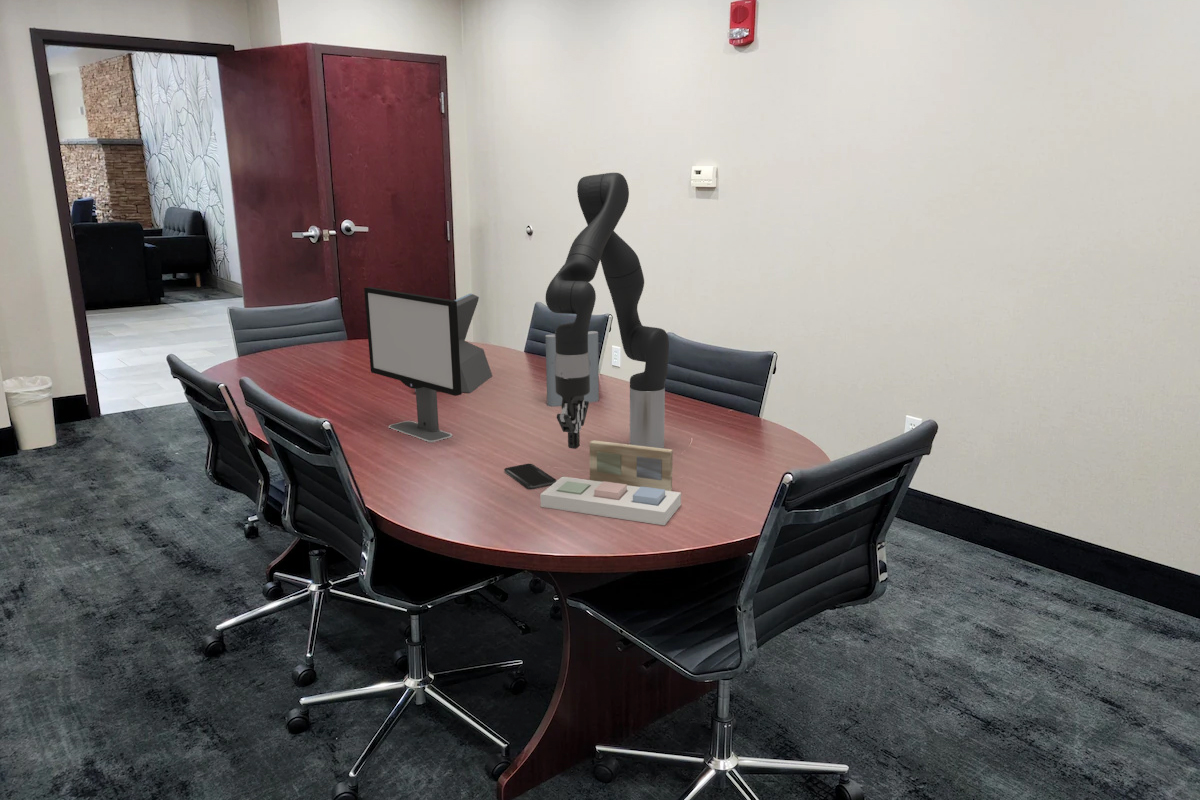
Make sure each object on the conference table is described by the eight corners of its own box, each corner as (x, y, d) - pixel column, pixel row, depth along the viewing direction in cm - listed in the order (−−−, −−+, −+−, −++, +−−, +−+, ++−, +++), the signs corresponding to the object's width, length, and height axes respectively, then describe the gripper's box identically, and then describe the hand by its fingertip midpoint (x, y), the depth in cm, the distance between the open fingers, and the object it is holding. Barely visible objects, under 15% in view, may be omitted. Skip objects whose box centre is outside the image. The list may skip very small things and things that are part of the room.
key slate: (641, 497, 189) (641, 486, 189) (665, 501, 187) (665, 489, 187) (632, 506, 184) (632, 495, 184) (657, 510, 182) (657, 498, 182)
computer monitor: (368, 421, 254) (357, 288, 243) (392, 415, 260) (382, 285, 249) (452, 450, 227) (444, 302, 217) (477, 443, 233) (470, 298, 223)
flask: (550, 407, 267) (548, 329, 261) (545, 403, 272) (543, 327, 265) (601, 401, 274) (600, 325, 267) (596, 398, 278) (595, 322, 271)
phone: (528, 487, 199) (502, 468, 212) (528, 491, 199) (502, 472, 212) (558, 480, 203) (531, 462, 215) (558, 485, 203) (531, 466, 216)
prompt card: (593, 479, 206) (592, 440, 203) (672, 490, 198) (672, 449, 196) (589, 482, 204) (588, 443, 201) (669, 493, 196) (669, 452, 194)
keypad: (562, 488, 200) (562, 476, 199) (680, 505, 190) (681, 492, 189) (540, 506, 189) (540, 494, 189) (664, 525, 179) (664, 512, 178)
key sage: (567, 492, 196) (567, 481, 195) (589, 495, 194) (589, 484, 193) (557, 500, 191) (557, 489, 190) (580, 504, 189) (580, 492, 188)
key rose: (603, 492, 193) (603, 481, 192) (626, 495, 191) (626, 484, 190) (594, 501, 188) (594, 489, 187) (618, 504, 186) (618, 493, 185)
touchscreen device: (446, 370, 317) (445, 290, 309) (497, 374, 314) (496, 293, 306) (409, 394, 284) (406, 305, 276) (465, 399, 281) (463, 309, 272)
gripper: (568, 364, 192) (570, 437, 197) (543, 378, 180) (546, 455, 185) (599, 366, 189) (600, 440, 194) (576, 380, 177) (577, 458, 182)
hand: (573, 447), depth 189 cm, fingers closed
